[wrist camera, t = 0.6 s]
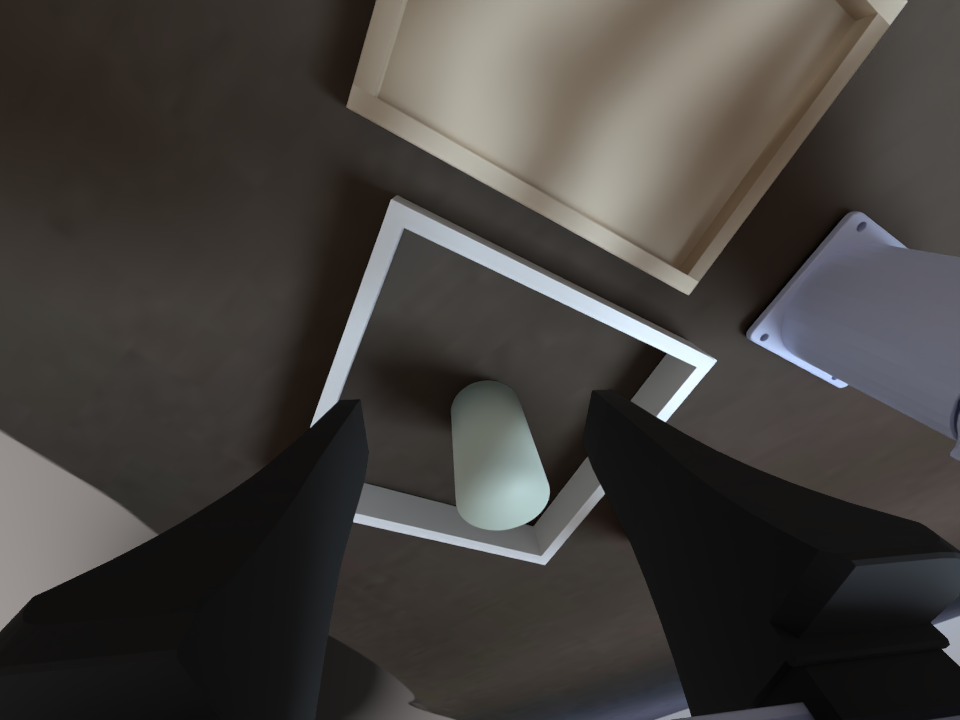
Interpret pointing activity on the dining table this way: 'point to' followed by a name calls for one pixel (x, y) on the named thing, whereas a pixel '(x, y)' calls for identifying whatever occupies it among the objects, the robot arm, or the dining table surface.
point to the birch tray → (617, 106)
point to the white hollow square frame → (662, 385)
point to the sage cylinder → (495, 459)
